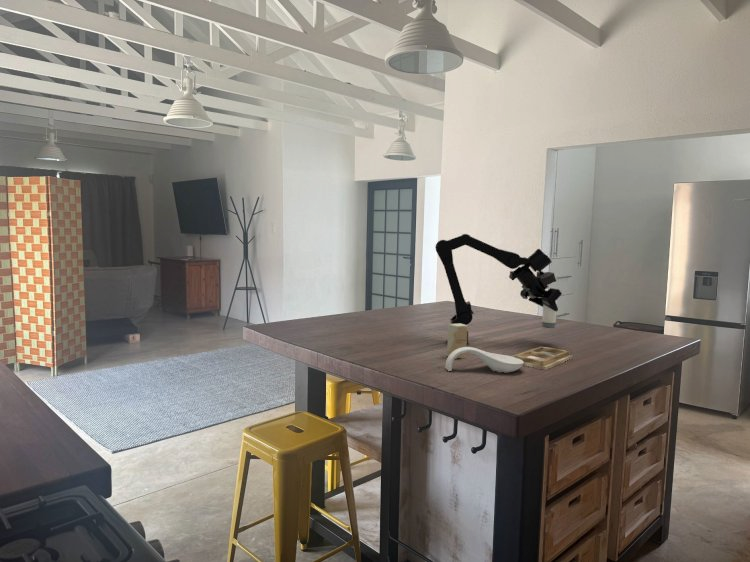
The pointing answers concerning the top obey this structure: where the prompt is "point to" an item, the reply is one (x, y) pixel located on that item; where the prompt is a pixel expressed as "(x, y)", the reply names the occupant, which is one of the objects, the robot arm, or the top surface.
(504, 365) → the spoon rest
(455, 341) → the box
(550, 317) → the sleeve
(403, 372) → the top surface
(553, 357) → the bay board
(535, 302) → the robot arm
